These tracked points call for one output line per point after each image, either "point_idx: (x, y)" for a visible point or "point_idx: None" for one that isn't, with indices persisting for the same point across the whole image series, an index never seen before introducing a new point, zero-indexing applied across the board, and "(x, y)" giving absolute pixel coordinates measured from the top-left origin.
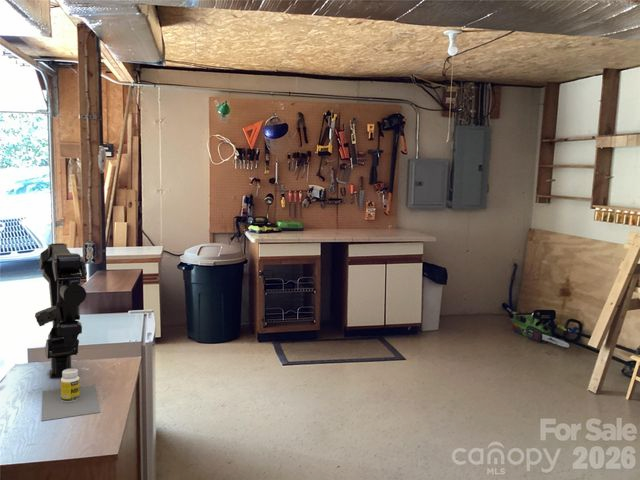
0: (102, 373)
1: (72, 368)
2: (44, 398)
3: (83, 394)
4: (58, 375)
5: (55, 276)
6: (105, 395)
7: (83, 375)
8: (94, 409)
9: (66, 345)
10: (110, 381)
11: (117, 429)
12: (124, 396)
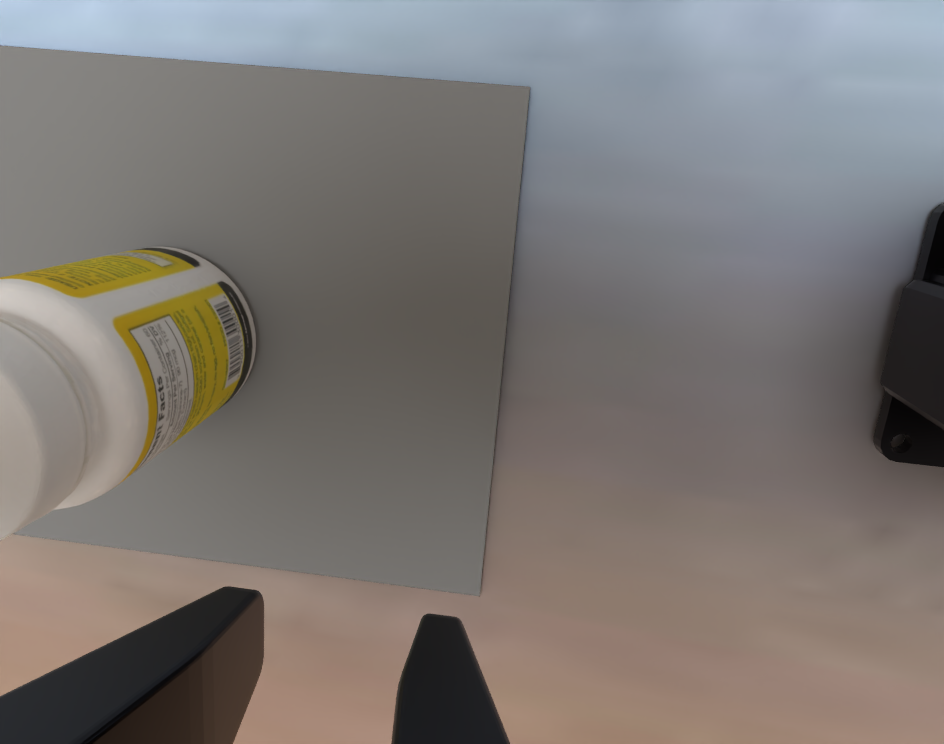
0: (776, 711)
1: (27, 491)
2: (300, 91)
3: (263, 458)
4: (904, 301)
5: None
6: None
7: (825, 546)
8: None
9: (64, 686)
10: (513, 720)
11: None
12: None
